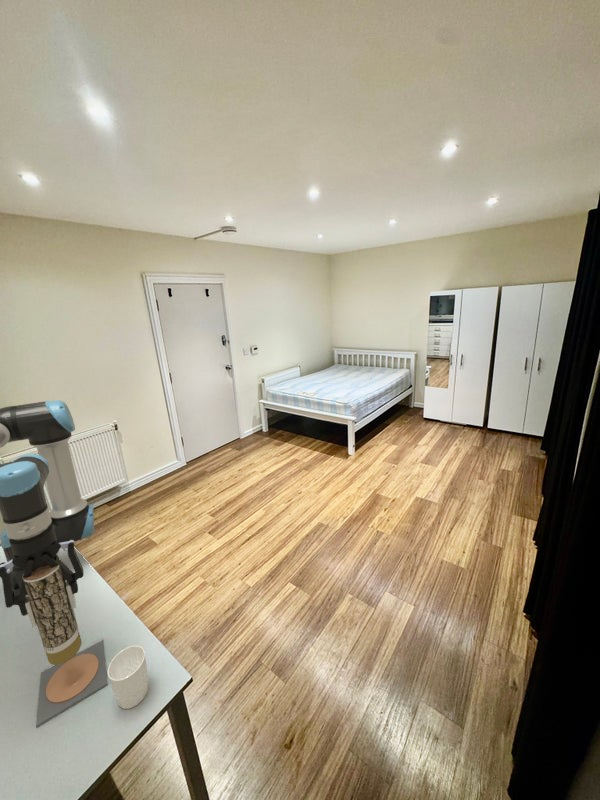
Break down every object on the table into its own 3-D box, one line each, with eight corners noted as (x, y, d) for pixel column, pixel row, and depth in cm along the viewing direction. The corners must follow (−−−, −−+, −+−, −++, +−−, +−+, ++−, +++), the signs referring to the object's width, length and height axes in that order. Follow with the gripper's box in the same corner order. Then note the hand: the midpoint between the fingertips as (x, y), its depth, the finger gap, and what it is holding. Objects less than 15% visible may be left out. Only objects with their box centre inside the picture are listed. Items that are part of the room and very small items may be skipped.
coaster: (41, 674, 81) (40, 670, 80) (103, 641, 89) (102, 638, 88) (36, 728, 70) (35, 724, 69) (108, 685, 78) (107, 681, 77)
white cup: (142, 668, 81) (136, 638, 79) (157, 689, 76) (150, 658, 74) (110, 696, 75) (102, 665, 73) (123, 721, 70) (115, 688, 68)
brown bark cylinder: (64, 669, 73) (38, 582, 67) (41, 664, 74) (14, 578, 68) (88, 641, 79) (67, 559, 73) (67, 636, 81) (44, 556, 75)
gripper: (-37, 560, 60) (-4, 651, 65) (84, 520, 71) (103, 601, 77) (-27, 540, 66) (2, 625, 71) (83, 506, 77) (101, 582, 82)
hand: (54, 613), depth 74 cm, fingers closed on brown bark cylinder, 7 cm apart
